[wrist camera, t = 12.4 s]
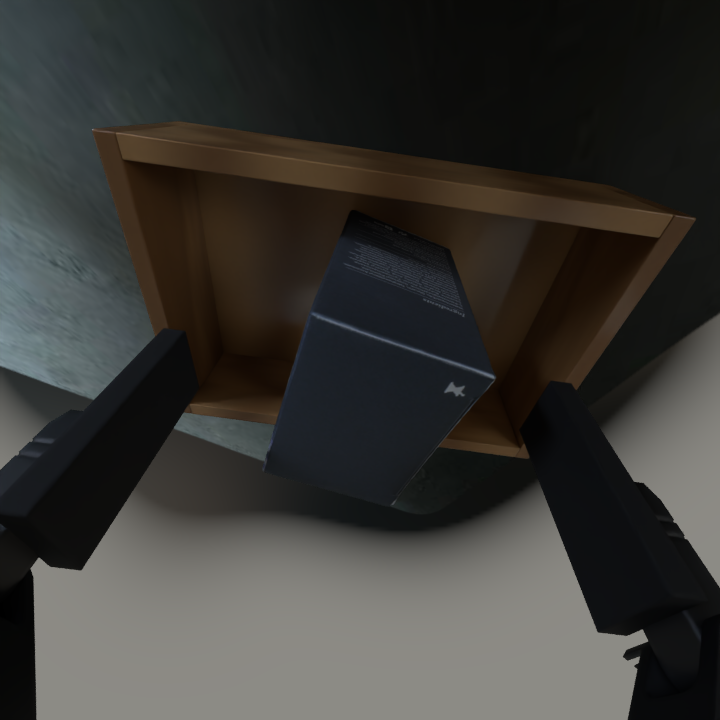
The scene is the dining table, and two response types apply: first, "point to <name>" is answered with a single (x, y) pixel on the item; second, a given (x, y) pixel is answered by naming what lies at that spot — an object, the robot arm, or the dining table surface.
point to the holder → (396, 207)
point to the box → (379, 366)
